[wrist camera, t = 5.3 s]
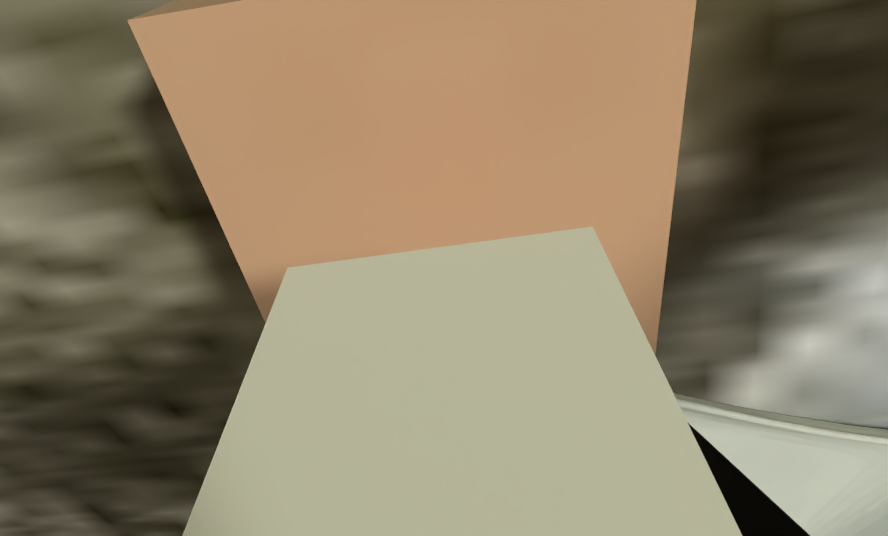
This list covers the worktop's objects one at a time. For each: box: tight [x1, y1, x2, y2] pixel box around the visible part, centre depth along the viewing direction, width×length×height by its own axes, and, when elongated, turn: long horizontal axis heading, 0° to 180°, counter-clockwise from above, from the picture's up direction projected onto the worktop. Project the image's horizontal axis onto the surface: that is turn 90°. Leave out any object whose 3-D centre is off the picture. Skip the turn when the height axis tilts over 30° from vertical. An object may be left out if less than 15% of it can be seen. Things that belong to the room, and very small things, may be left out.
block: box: [182, 227, 742, 536], centre depth 8 cm, size 5×5×5 cm
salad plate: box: [674, 393, 888, 536], centre depth 29 cm, size 21×21×3 cm
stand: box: [127, 0, 696, 354], centre depth 16 cm, size 12×12×4 cm
